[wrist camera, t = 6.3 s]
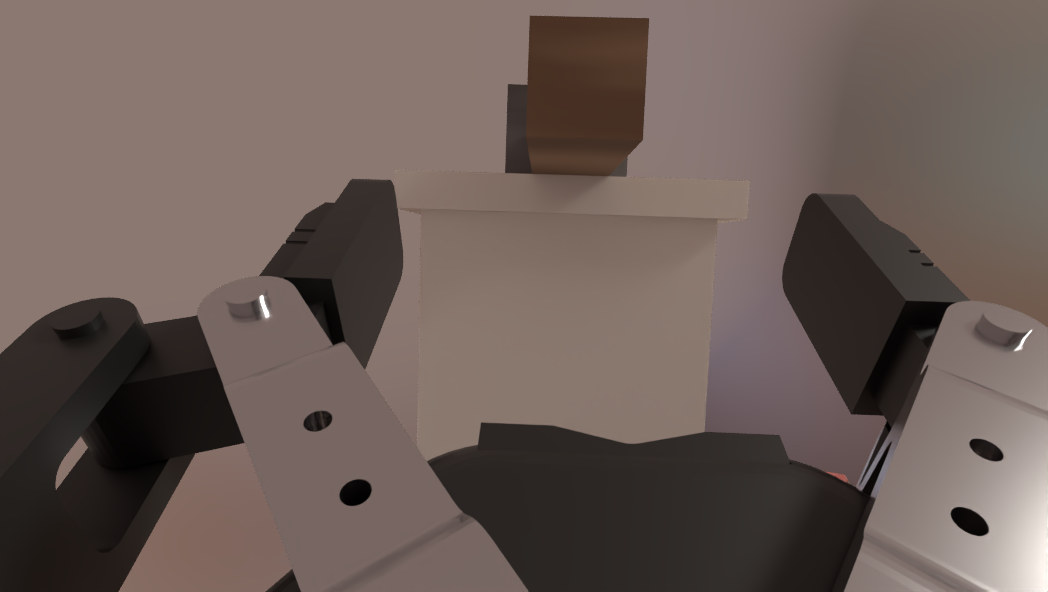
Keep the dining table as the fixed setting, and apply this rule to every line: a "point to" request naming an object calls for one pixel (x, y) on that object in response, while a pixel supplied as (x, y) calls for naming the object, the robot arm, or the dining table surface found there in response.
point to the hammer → (579, 97)
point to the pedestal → (564, 302)
